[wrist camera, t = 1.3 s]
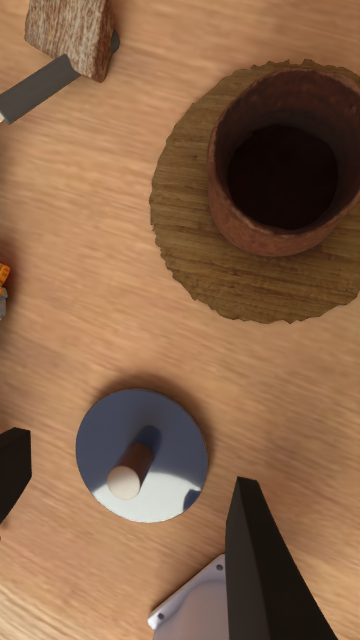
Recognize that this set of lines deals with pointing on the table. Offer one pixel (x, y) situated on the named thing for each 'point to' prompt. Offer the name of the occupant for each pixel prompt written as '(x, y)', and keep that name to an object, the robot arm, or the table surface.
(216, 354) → the table surface
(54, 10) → the stone
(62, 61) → the spatula
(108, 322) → the table surface
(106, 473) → the lid
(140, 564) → the table surface
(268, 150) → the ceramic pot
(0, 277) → the character figurine
